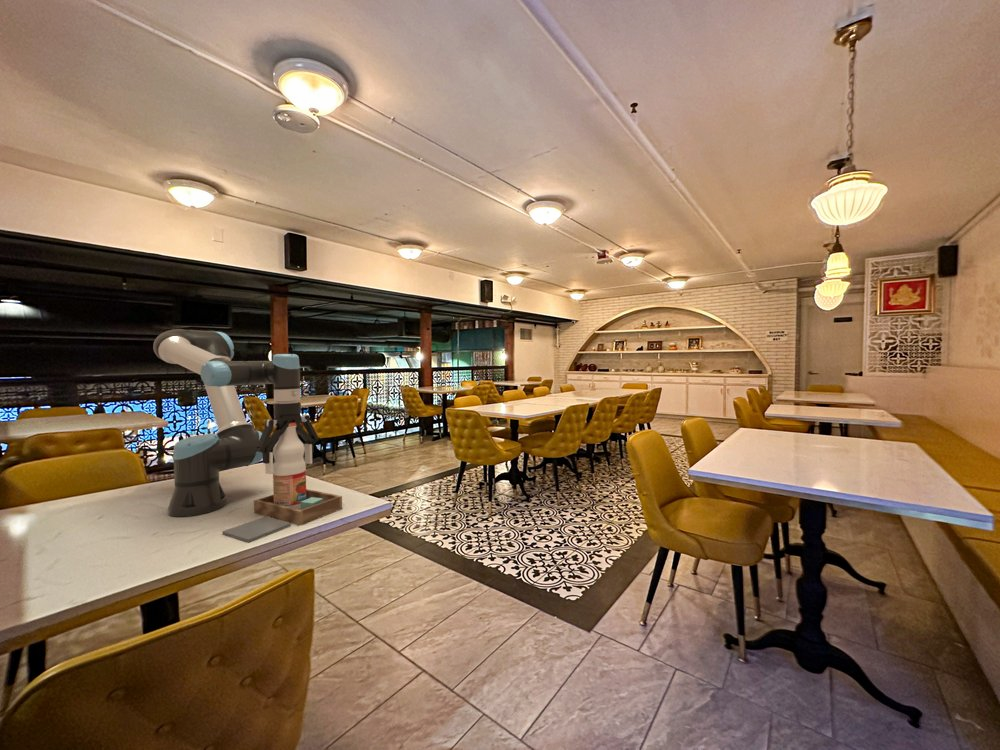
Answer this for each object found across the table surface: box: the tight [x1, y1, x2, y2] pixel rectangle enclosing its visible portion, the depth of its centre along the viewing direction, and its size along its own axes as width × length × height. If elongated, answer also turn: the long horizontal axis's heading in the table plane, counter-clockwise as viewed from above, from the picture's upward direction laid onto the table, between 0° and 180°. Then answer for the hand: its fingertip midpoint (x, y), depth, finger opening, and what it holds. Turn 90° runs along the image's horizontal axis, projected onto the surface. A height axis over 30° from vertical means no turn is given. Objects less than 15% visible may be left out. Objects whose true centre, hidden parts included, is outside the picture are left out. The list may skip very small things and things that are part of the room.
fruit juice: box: [272, 422, 307, 510], centre depth 130 cm, size 9×9×28 cm
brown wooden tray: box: [253, 488, 343, 526], centre depth 128 cm, size 22×15×4 cm
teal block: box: [301, 497, 323, 510], centre depth 125 cm, size 4×4×4 cm
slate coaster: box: [222, 516, 292, 543], centre depth 113 cm, size 12×12×1 cm
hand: (290, 468), depth 130 cm, fingers open, 13 cm apart
